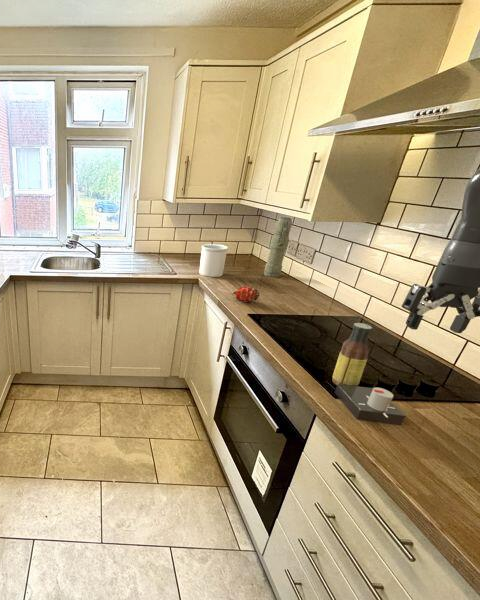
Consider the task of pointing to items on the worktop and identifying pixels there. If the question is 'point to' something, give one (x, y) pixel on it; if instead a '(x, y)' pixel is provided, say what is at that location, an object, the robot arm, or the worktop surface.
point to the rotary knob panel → (358, 406)
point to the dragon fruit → (246, 294)
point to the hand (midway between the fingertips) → (432, 329)
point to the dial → (380, 399)
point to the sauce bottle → (353, 356)
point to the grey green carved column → (278, 247)
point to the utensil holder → (212, 260)
